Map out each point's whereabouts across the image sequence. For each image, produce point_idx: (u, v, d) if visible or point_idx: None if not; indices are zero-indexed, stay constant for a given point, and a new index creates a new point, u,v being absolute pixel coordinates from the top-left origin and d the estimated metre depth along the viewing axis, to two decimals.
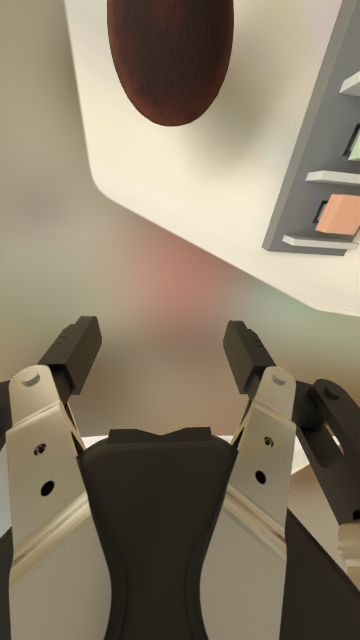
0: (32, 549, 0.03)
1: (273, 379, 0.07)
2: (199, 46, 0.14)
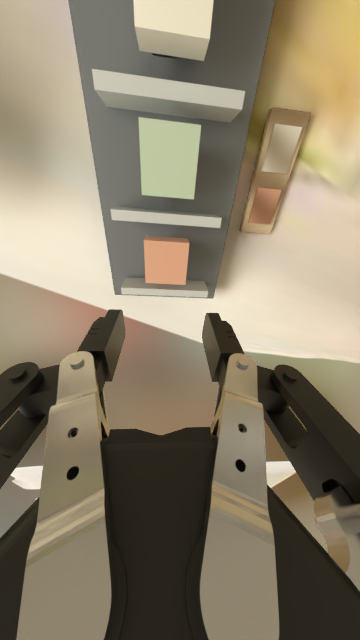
0: (50, 530, 0.03)
1: (236, 364, 0.08)
2: None
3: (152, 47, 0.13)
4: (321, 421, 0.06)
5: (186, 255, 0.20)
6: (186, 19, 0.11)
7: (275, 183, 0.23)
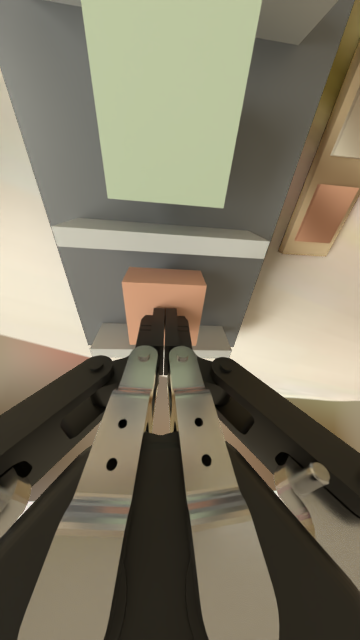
0: (81, 510, 0.03)
1: (175, 356, 0.08)
2: None
3: None
4: (261, 403, 0.06)
5: (200, 304, 0.11)
6: None
7: (349, 177, 0.13)
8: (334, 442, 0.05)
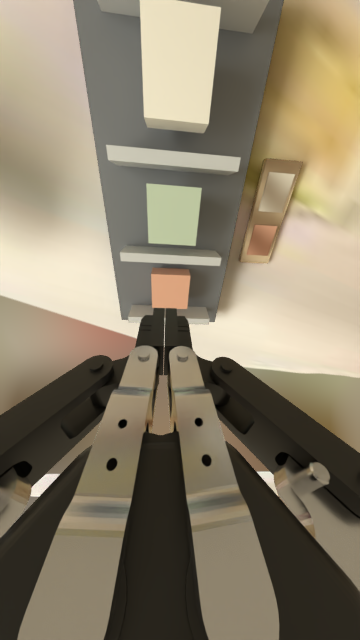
0: (81, 510, 0.03)
1: (175, 356, 0.08)
2: None
3: (158, 126, 0.15)
4: (261, 403, 0.06)
5: (187, 285, 0.23)
6: (188, 110, 0.13)
7: (271, 220, 0.24)
8: (334, 442, 0.05)
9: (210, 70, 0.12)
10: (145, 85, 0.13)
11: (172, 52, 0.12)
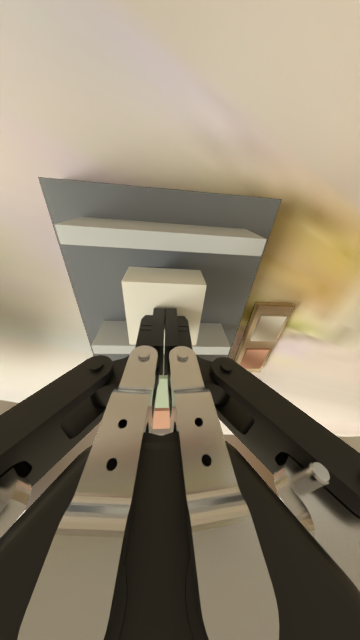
0: (81, 510, 0.03)
1: (175, 356, 0.08)
2: None
3: None
4: (261, 403, 0.06)
5: None
6: None
7: (263, 345, 0.24)
8: (334, 442, 0.05)
9: (196, 318, 0.12)
10: (130, 328, 0.12)
11: None
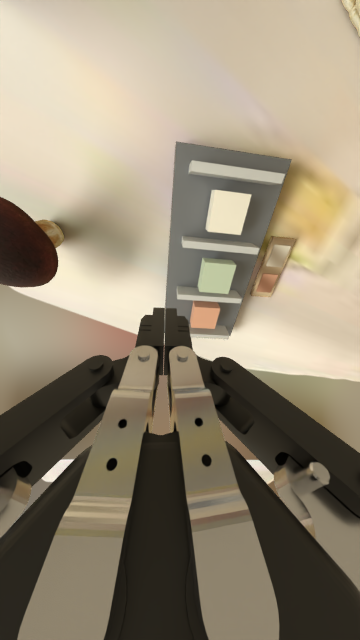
0: (81, 510, 0.03)
1: (175, 356, 0.08)
2: (15, 270, 0.20)
3: None
4: (261, 403, 0.06)
5: (217, 314, 0.35)
6: (231, 229, 0.26)
7: (274, 271, 0.36)
8: (334, 442, 0.05)
9: (244, 215, 0.25)
10: (211, 219, 0.25)
11: (226, 208, 0.25)
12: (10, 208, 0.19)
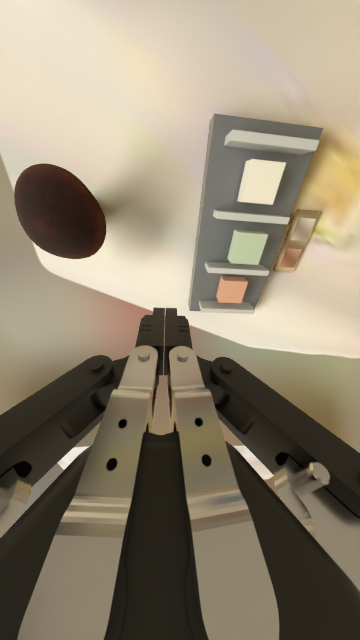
0: (80, 511, 0.03)
1: (175, 356, 0.08)
2: (73, 237, 0.22)
3: None
4: (261, 403, 0.06)
5: (245, 287, 0.36)
6: (263, 199, 0.27)
7: (298, 245, 0.37)
8: (334, 442, 0.05)
9: (277, 184, 0.26)
10: (246, 189, 0.27)
11: (261, 177, 0.26)
12: (70, 177, 0.21)
